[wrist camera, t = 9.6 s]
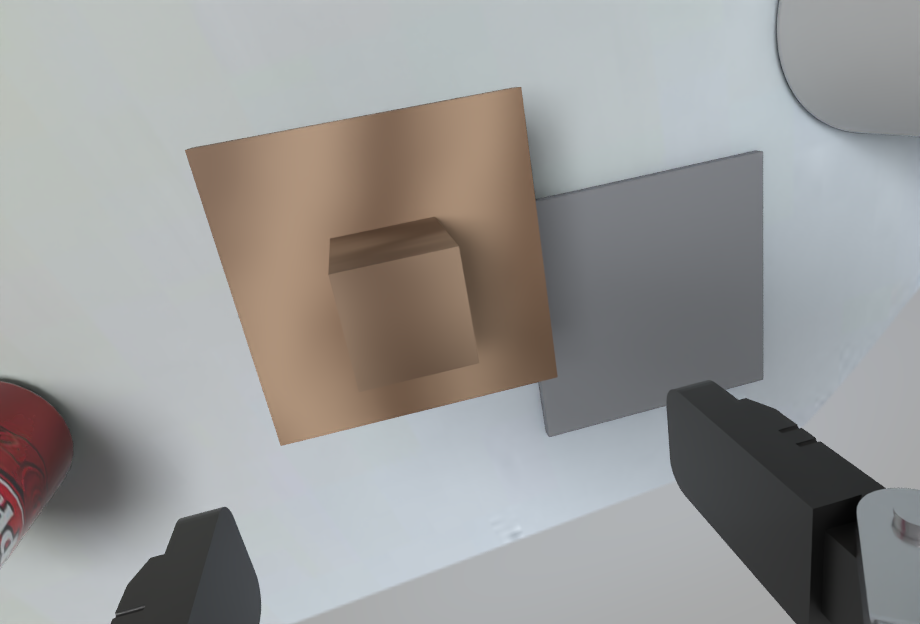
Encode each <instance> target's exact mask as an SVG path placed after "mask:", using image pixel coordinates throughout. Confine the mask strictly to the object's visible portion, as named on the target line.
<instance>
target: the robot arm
mask: <svg viewBox="0 0 920 624" xmlns="http://www.w3.org/2000/svg"><path fill="white" fill-rule="evenodd" d="M666 403H667V419H668V433H669V448H670V461H671V467H672V471H673V474H674V477H675V479H676V481H677V483H678V485H679V487H680V489H681V491H682V492H683V493H684V495H685V496H686V497H687V498H688V499H689V501H690V502H691V503H692V504H693V505H694V506H695V508H696V509H697V510H698V511H699V512H700V513H701V514H702V516H703V517H704V518H705V519H706V520H707V521H708V523H709V524H710V525H711V526H712V527H713V528H714V529H715V530H716V532H717V533H718V534H719V535H720V536H721V538H722V539H723V540H724V541H725V542H726V543H727V544H728V546H729V547H730V548H731V549H732V550H733V551H734V552H735V554H736V555H737V556H738V557H739V558H740V559H741V561H742V562H743V563H744V564H745V565H746V566H747V568H749V570H750V571H751V572H752V573H753V574H754V576H755V577H756V578H757V579H758V580H759V581H760V583H761V584H762V585H763V586H764V587H765V588H766V589H767V591H768V592H769V593H770V594H771V595H772V596H773V597H774V599H775V600H776V601H777V602H778V603H779V604H780V606H781V607H782V608H783V609H784V610H785V611H786V613H787V614H788V615H789V616H790V617H791V618H792V619H793V621H794V622H795V623H796V624H920V490H916V489H909V488H908V489H907V488H888V489H886V488H884V487H883V486H882V485H880V484H879V483H878V482H876V481H875V480H873V479H872V478H871V477H869V476H868V475H866V474H865V473H864V472H862V471H861V470H859V469H858V468H857V467H855V466H854V465H853V464H851V463H850V462H848V461H847V460H846V459H844V458H843V457H841V456H840V455H839V454H837V453H836V452H834V451H833V450H832V449H830V448H829V447H827V446H826V445H824V444H823V443H822V442H817V441H816V438H815V437H813V436H812V435H811V434H809V433H808V432H806V431H805V430H804V429H802V428H800V429H799V428H798V426H797V424H795V423H794V422H793V421H791V420H790V419H788V418H787V417H786V416H784V415H783V414H781V413H780V412H779V411H777V410H776V409H774V408H771V407H768V406H766V405H763V404H760V403H758V402H755V401H752V400H749V399H747V398H745V399H741V400H738V399H736V398H735V397H734V396H732V395H731V394H730V393H728V392H727V391H726V390H724V389H723V388H722V387H721V386H719V385H718V384H717V383H715V382H714V381H711V380H706V381H702V382H698V383H694V384H691V385H687V386H683V387H679V388H675V389H672V390H670V391H669V392H668V394H667V400H666ZM115 614H116V618H114V619H112V622H111V624H259V622H260V615H261V596H260V588H259V583H258V579H257V576H256V573H255V570H254V568H253V565H252V563H251V560H250V558H249V555H248V553H247V550H246V547H245V545H244V542H243V540H242V537H241V535H240V532H239V530H238V527H237V525H236V522H235V519H234V517H233V515H232V513H231V511H230V510H229V509H228V508H227V507H222V508H218V509H214V510H211V511H207V512H203V513H199V514H195V515H192V516H188V517H184V518H181V519H179V520H178V521H177V523H176V525H175V528H174V531H173V533H172V536H171V539H170V541H169V544H168V546H167V549H166V552H165V554H163V555H160V556H156V557H152V558H150V559H149V560H148V562H147V563H146V564H145V565H144V566H143V567H142V569H141V570H140V571H139V572H138V573H137V574H136V576H135V577H134V578H133V579H132V580H131V581H130V583H129V584H128V585H127V587H126V589H125V592H124V594H123V596H122V599H121V601H120V603H119V605H118V608H117V610H116V612H115Z"/></svg>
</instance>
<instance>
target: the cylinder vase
mask: <svg viewBox="0 0 920 624" xmlns="http://www.w3.org/2000/svg"><path fill="white" fill-rule="evenodd" d="M777 43H778V51H779V57H780V61H781V65H782V69H783V72H784V75H785V77H786V80H787V82H788V84H789V86H790V88H791V90H792V92H793V93H794V95H795V96H796V98H797V99H798V100H799V102H800V103H801V104H802V105H803V106H804V108H805V109H806V110H807V111H809V112H810V113H811V114H812V115H813V116H814V117H816V118H817V119H819V120H820V121H822V122H824V123H826V124H827V125H830V126H832V127H834V128H837V129H840V130H844V131H849V132H856V133H869V134H884V135H899V136H914V137H920V0H779V6H778V15H777Z"/></svg>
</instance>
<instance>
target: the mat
mask: <svg viewBox="0 0 920 624" xmlns="http://www.w3.org/2000/svg"><path fill="white" fill-rule="evenodd" d="M535 201H536V209H537V217H538V225H539V233H540V240H541V248H542V256H543V264H544V272H545V280H546V288H547V296H548V304H549V312H550V320H551V328H552V336H553V343H554V351H555V359H556V367H557V375H558V377H557V378H553V379H549V380H545V381H541V382H538V383H539V390H540V396H541V403H542V410H543V416H544V423H545V429H546V433H547V435H548V436H549V437H552V436H555V435H559V434H563V433H566V432H570V431H574V430H578V429H581V428H585V427H589V426H592V425H596V424H600V423H603V422H607V421H611V420H615V419H618V418H622V417H626V416H629V415H633V414H637V413H641V412H644V411H648V410H652V409H655V408H659V407H663V406H666V405H667V403H666V400H667V394H668V392H669V391H670V390H672V389H675V388H679V387H683V386H687V385H691V384H694V383H698V382H702V381H706V380H711V381H714V382H715V383H717V384H718V385H719V386H721V387H722V388H723V389H724V390H726V389H729V388H733V387H737V386H741V385H744V384H748V383H752V382H755V381H759V380H763V151H752V152H747V153H743V154H738V155H734V156H729V157H725V158H720V159H716V160H711V161H707V162H702V163H698V164H693V165H689V166H684V167H680V168H675V169H671V170H666V171H662V172H657V173H653V174H648V175H644V176H639V177H635V178H630V179H626V180H621V181H617V182H613V183H608V184H604V185H599V186H595V187H590V188H586V189H581V190H577V191H572V192H568V193H563V194H559V195H554V196H550V197H545V198H541V199H536V200H535Z"/></svg>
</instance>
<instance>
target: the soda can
mask: <svg viewBox="0 0 920 624" xmlns="http://www.w3.org/2000/svg"><path fill="white" fill-rule="evenodd" d="M72 459H73V441H72V437H71V433H70V430H69V428H68V426H67V424H66V422H65V420H64V418H63V417H62V416H61V415H60V414H59V412H58V411H57V410H56V409H55V408H54V407H53V406H52V405H51V404H50V403H48V402H47V401H46V400H45V399H44V398H42V397H41V396H39V395H37V394H35V393H34V392H32V391H30V390H28V389H26V388H23V387H21V386H18V385H15V384H12V383H7V382H3V381H0V569H1V568H2V566H3V565H4V564H5V562H6V561H7V559H8V558H9V557H10V555H11V554H12V552H13V551H14V550H15V548H16V547H17V545H18V544H19V542H20V541H21V540H22V538H23V537H24V535H25V534H26V533H27V531H28V530H29V528H30V527H31V526H32V524H33V523H34V521H35V520H36V519H37V517H38V516H39V514H40V513H41V511H42V510H43V509H44V507H45V506H46V504H47V503H48V502H49V500H50V499H51V497H52V496H53V495H54V493H55V492H56V490H57V489H58V488H59V486H60V485H61V483H62V482H63V480H64V479H65V477H66V475H67V473H68V471H69V469H70V467H71V463H72Z"/></svg>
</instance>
